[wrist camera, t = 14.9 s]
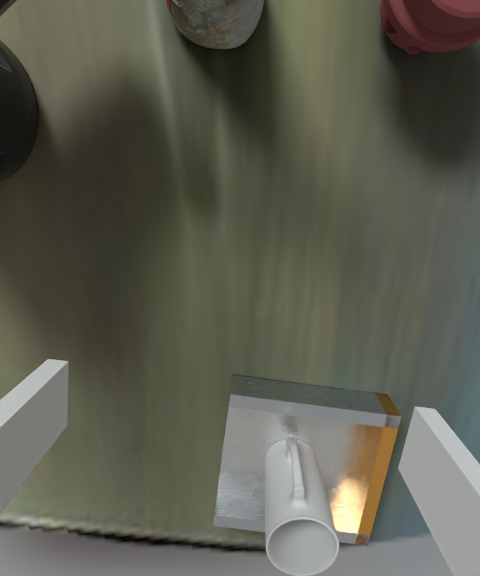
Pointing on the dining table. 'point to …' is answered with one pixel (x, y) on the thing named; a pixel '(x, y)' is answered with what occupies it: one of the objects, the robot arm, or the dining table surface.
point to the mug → (297, 511)
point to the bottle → (216, 20)
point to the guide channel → (319, 436)
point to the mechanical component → (431, 24)
